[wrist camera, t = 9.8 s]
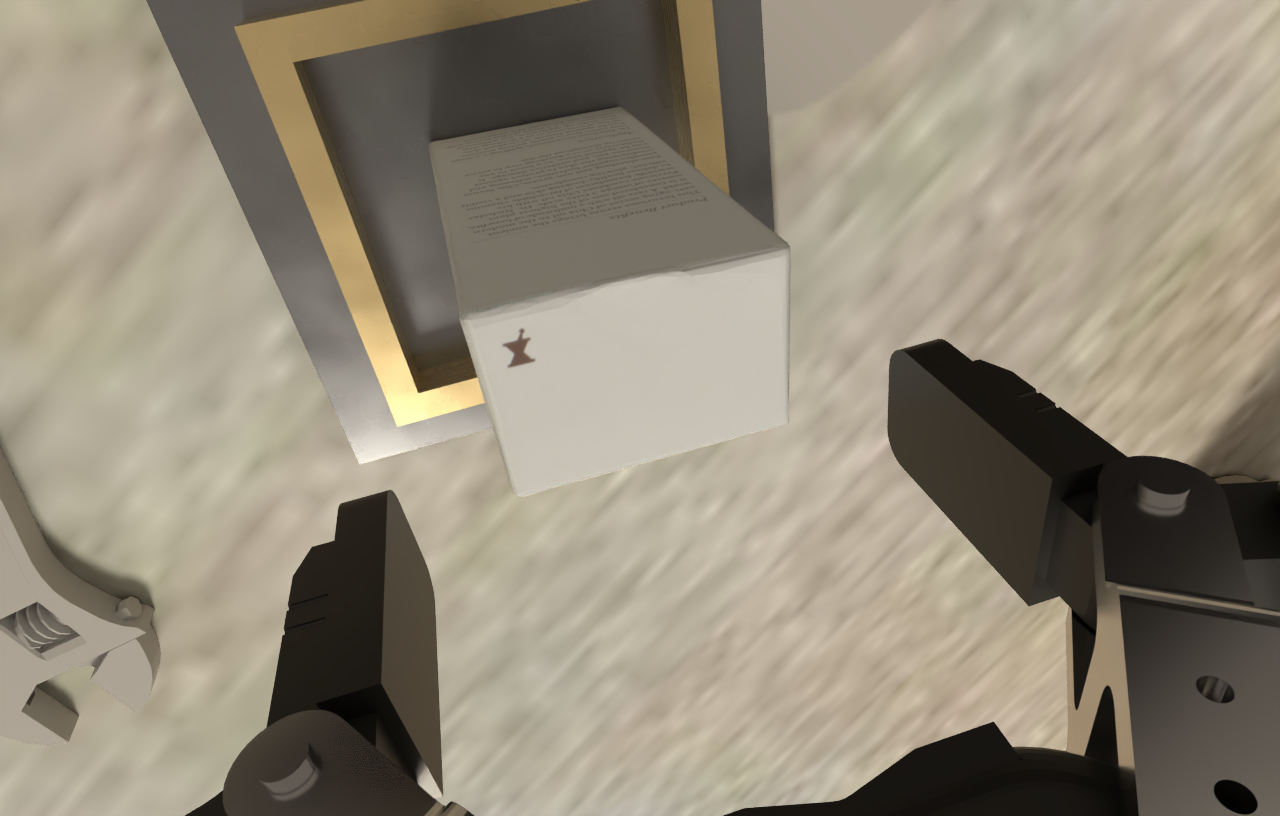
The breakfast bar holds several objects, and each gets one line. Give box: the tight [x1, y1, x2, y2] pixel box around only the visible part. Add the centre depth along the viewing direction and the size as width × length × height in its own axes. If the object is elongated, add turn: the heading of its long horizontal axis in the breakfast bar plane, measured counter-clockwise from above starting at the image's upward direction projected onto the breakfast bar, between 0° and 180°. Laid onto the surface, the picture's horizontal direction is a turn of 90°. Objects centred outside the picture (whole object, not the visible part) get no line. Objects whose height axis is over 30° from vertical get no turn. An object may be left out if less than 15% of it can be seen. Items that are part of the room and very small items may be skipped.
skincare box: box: [429, 107, 790, 497], centre depth 19 cm, size 6×4×12 cm
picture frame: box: [146, 0, 774, 464], centre depth 24 cm, size 16×16×2 cm
